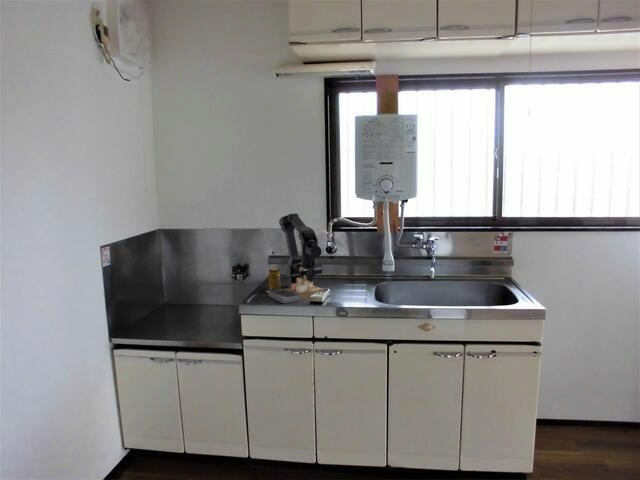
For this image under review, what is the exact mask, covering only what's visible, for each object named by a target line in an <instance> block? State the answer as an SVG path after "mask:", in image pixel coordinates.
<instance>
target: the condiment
mask: <svg viewBox="0 0 640 480" xmlns="http://www.w3.org/2000/svg"><path fill="white" fill-rule="evenodd" d="M268 271H269V272H268V273H269V274H268V290H266V291H265V292H266V293H268V294H269V291H275V290H281V289H282V288H281V287H282V286H281V284H282V283H281V274H280V273H281V272H280V269H279V268H278V267H276V268H275V267H273V268H272V267H271V268H270V269H268Z"/></svg>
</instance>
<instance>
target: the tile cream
mask: <svg viewBox="0 0 640 480" xmlns="http://www.w3.org/2000/svg"><path fill="white" fill-rule="evenodd" d="M296 291H298V292H305V291H308V290H307V286H306V285H298V286H296Z"/></svg>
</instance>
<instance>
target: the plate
mask: <svg viewBox="0 0 640 480" xmlns="http://www.w3.org/2000/svg"><path fill="white" fill-rule="evenodd" d="M284 289H286V290H288V291H291V292H293V293H295V294H298V295H300V297H301V301H302V300H307V299H311V298H310V296H311V295H313V294H314V293H316V292H321V291H325V289H324V288H321V287H318V286H316V285H313V287H312V290H308V291H305V292H298V291H296V290H293V289H291V287H290V288H289V287H286V288H284Z"/></svg>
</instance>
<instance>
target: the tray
mask: <svg viewBox="0 0 640 480" xmlns="http://www.w3.org/2000/svg"><path fill="white" fill-rule="evenodd" d="M268 291H269V290H268ZM268 297H269V298H271V299H273V300H275V301H276V302H277V301H278V302H279V303H282V304H283V303H285V304H290V302H291V303H295V302H300V301H302V300H301V297H300V295H298V294H295V293H293V292H291V291H288V290H286V289H285V288H281V290H275V291H269V293H268Z"/></svg>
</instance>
